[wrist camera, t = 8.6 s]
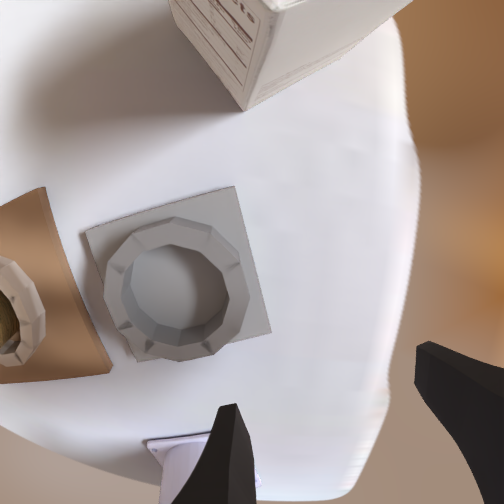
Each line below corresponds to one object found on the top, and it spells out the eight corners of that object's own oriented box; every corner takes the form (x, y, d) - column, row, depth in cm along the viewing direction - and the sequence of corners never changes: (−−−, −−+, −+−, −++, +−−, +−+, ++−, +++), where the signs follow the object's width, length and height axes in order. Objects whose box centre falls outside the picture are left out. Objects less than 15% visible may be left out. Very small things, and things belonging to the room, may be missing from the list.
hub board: (112, 365, 20) (100, 390, 17) (1, 377, 20) (-14, 396, 17) (45, 186, 16) (19, 191, 14) (-58, 242, 16) (-80, 251, 13)
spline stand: (269, 325, 20) (277, 349, 17) (140, 354, 20) (130, 380, 17) (234, 185, 18) (236, 189, 15) (91, 228, 17) (70, 239, 15)
